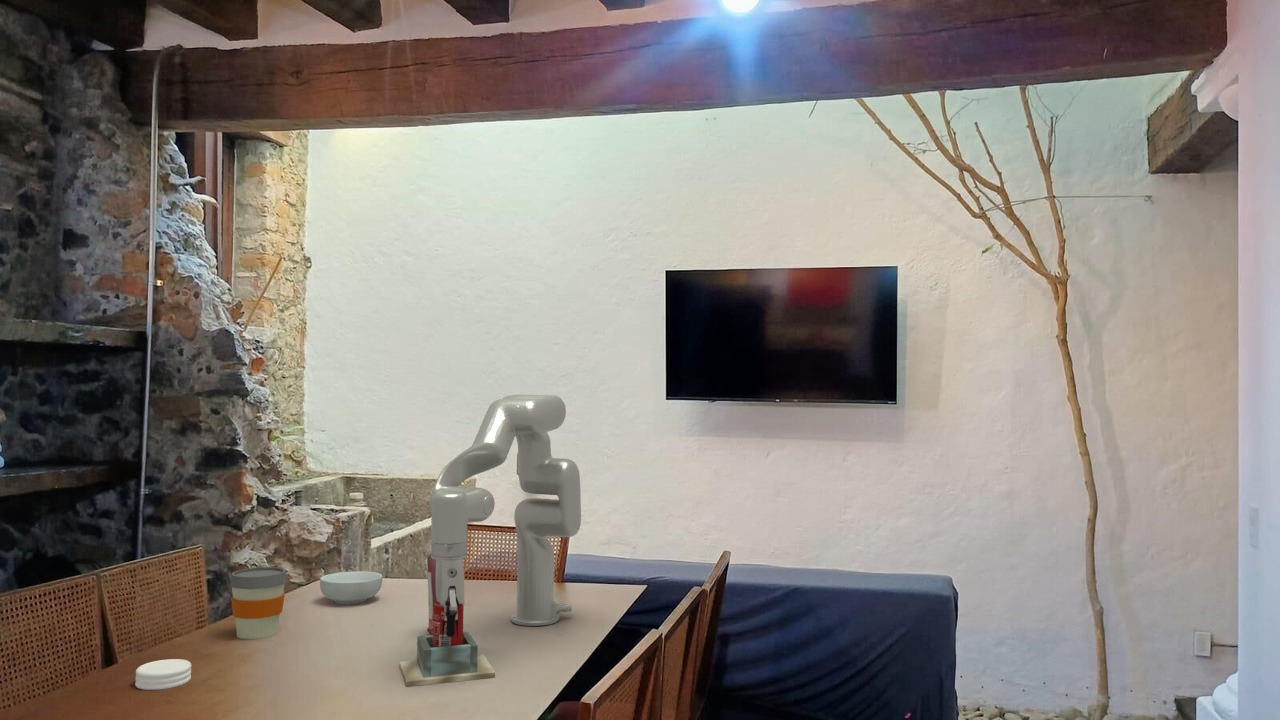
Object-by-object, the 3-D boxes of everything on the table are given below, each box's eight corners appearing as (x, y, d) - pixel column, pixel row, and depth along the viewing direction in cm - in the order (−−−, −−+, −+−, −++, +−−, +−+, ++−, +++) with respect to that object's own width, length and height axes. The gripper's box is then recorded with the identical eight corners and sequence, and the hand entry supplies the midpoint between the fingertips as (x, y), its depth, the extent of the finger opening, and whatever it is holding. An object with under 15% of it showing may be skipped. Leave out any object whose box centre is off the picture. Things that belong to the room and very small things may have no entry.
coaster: (132, 693, 172) (133, 675, 172) (137, 678, 181) (138, 661, 181) (189, 687, 176) (190, 669, 176) (192, 672, 185) (192, 656, 185)
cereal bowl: (394, 599, 251) (395, 574, 251) (346, 611, 237) (347, 585, 237) (354, 592, 260) (355, 567, 260) (306, 603, 246) (307, 577, 246)
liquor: (448, 640, 211) (451, 522, 212) (420, 637, 212) (422, 521, 213) (461, 631, 218) (463, 518, 219) (433, 630, 219) (435, 517, 220)
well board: (482, 658, 197) (483, 628, 197) (495, 677, 183) (495, 645, 184) (399, 666, 190) (400, 635, 190) (406, 686, 177) (407, 654, 177)
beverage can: (468, 653, 188) (468, 596, 189) (453, 660, 182) (454, 602, 183) (442, 651, 190) (443, 595, 191) (426, 658, 184) (427, 600, 185)
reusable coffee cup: (294, 634, 214) (295, 572, 215) (242, 644, 205) (243, 579, 206) (271, 624, 223) (272, 564, 223) (220, 634, 214) (221, 571, 214)
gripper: (473, 556, 181) (472, 644, 181) (460, 542, 197) (458, 623, 197) (436, 558, 179) (435, 648, 178) (425, 544, 195) (424, 626, 194)
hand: (447, 634), depth 187 cm, fingers closed on beverage can, 5 cm apart
